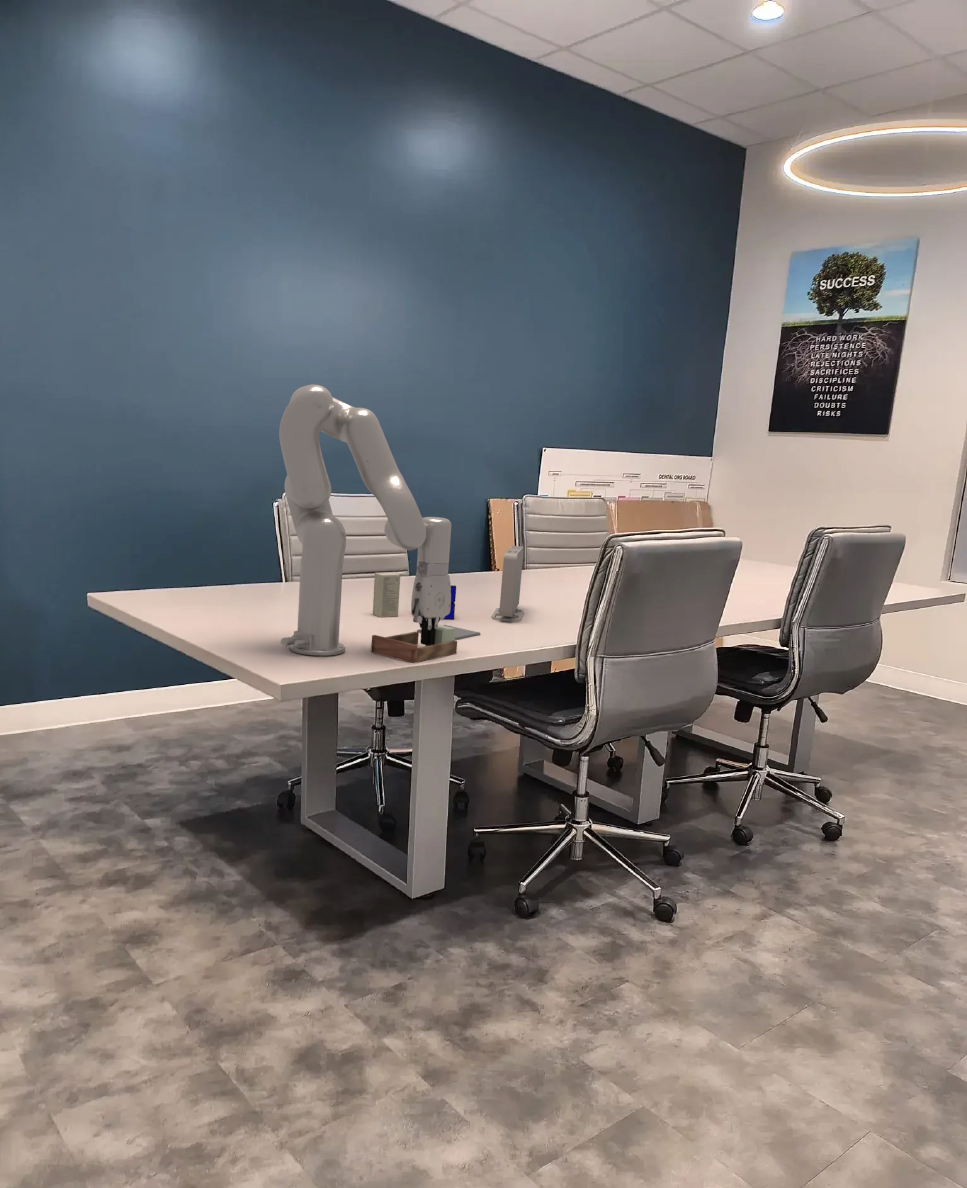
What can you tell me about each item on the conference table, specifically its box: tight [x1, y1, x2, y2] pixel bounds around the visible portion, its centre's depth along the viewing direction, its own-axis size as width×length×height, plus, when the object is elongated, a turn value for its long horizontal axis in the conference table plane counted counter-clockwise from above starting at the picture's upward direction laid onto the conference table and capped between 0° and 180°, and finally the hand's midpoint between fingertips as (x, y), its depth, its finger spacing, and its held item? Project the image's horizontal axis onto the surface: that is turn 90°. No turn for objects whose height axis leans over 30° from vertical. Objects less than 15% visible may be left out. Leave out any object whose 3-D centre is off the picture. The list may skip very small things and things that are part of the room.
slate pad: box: [416, 624, 481, 641], centre depth 244 cm, size 12×12×1 cm
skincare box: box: [372, 571, 401, 618], centre depth 261 cm, size 6×4×12 cm
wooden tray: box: [370, 631, 458, 664], centre depth 218 cm, size 16×13×4 cm
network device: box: [491, 545, 525, 623], centre depth 275 cm, size 26×9×20 cm, turn 173°
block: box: [424, 624, 455, 647], centre depth 226 cm, size 5×5×5 cm
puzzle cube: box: [443, 581, 457, 621], centre depth 266 cm, size 10×10×10 cm
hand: (427, 644), depth 222 cm, fingers closed
